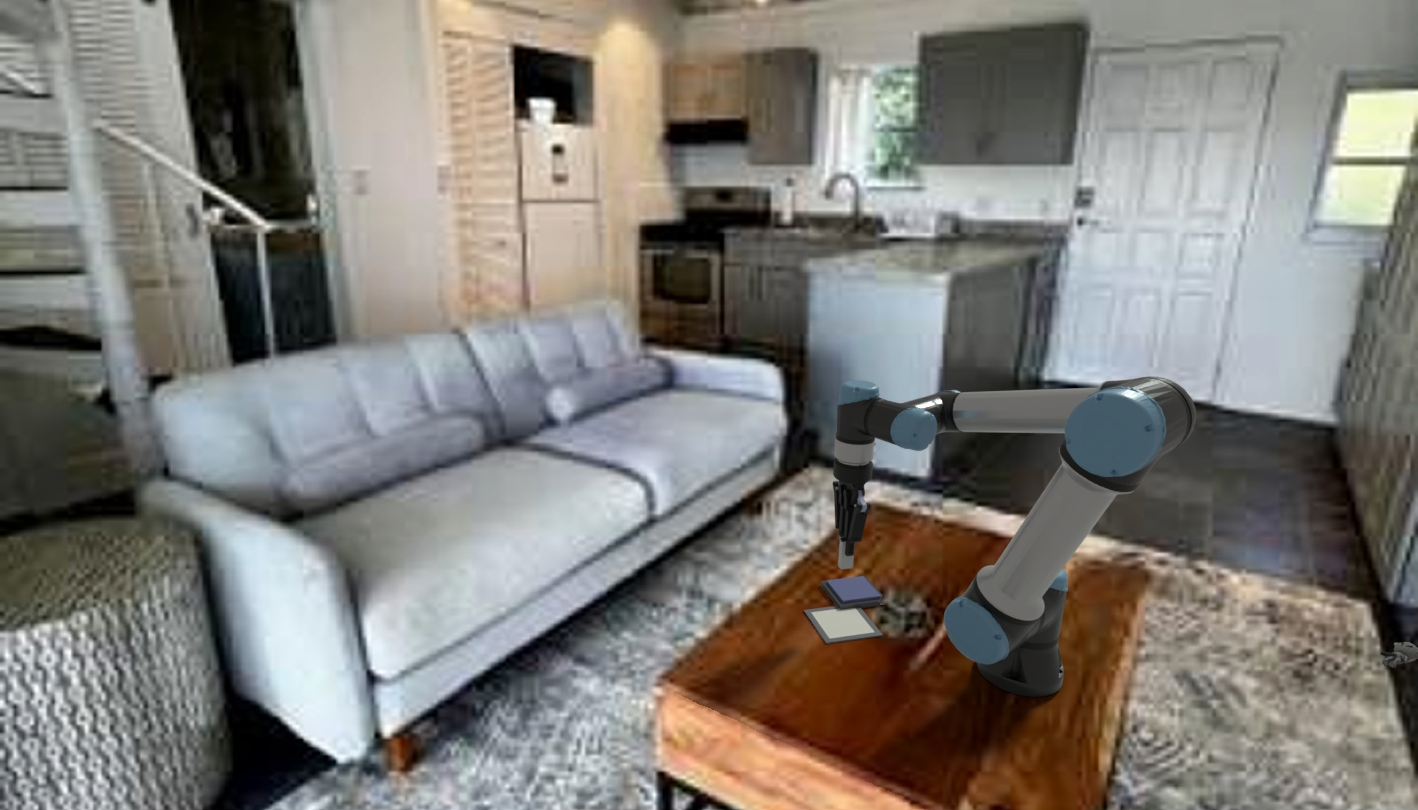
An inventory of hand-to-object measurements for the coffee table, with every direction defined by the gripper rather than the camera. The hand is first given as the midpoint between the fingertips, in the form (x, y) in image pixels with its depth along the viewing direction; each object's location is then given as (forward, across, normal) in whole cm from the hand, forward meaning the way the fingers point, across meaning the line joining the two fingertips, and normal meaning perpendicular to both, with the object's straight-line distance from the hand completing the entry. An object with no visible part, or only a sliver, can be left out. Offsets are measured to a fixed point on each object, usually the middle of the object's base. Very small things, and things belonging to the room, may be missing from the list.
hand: (845, 566), depth 155 cm
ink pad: (+13, +10, -7) cm, 18 cm away
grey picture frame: (+13, 0, 0) cm, 13 cm away
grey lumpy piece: (+53, +8, -178) cm, 186 cm away
